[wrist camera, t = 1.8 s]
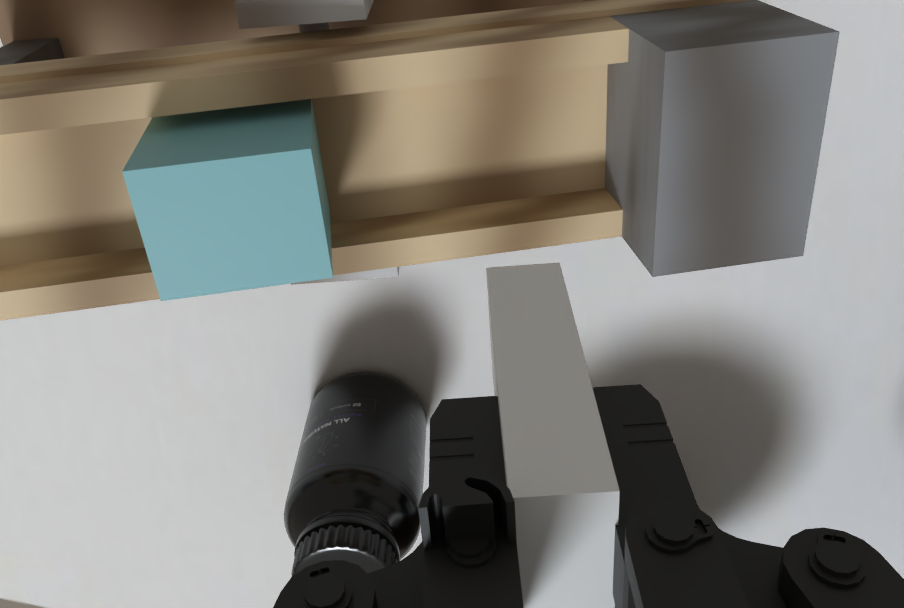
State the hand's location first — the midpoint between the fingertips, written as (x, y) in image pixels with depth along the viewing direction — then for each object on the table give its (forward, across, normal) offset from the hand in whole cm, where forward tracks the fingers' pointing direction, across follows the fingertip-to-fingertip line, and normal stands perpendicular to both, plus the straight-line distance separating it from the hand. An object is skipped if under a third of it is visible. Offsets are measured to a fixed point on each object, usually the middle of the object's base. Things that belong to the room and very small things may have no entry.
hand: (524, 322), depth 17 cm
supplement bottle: (+23, +8, +20) cm, 32 cm away
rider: (+11, +8, 0) cm, 14 cm away
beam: (+14, +6, 0) cm, 15 cm away
